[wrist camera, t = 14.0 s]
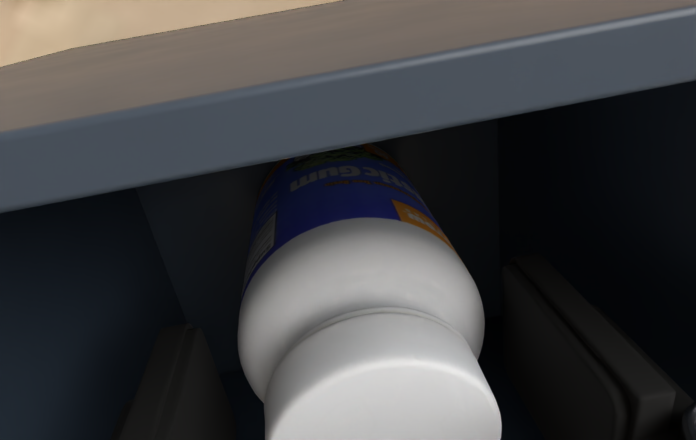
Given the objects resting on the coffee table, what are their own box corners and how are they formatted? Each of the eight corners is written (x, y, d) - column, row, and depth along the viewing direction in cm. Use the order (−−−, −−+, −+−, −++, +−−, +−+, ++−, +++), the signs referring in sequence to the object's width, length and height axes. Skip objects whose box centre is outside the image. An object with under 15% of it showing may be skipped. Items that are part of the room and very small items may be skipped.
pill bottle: (431, 152, 16) (610, 343, 7) (385, 286, 18) (481, 558, 9) (271, 115, 15) (255, 289, 6) (241, 263, 17) (198, 550, 8)
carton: (504, -29, 14) (1292, -104, 3) (507, 314, 20) (789, 718, 9) (70, 48, 14) (-841, 287, 3) (201, 378, 20) (93, 896, 8)
